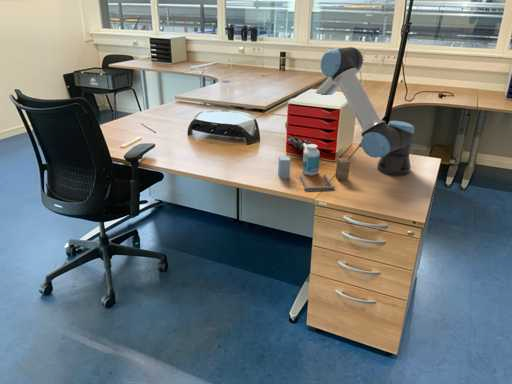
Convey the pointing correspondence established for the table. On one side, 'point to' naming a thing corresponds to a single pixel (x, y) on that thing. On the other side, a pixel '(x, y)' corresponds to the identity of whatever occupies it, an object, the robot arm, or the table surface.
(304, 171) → the pill bottle
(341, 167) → the walnut block
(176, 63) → the table surface
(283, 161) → the slate-blue block
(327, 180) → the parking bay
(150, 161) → the table surface
